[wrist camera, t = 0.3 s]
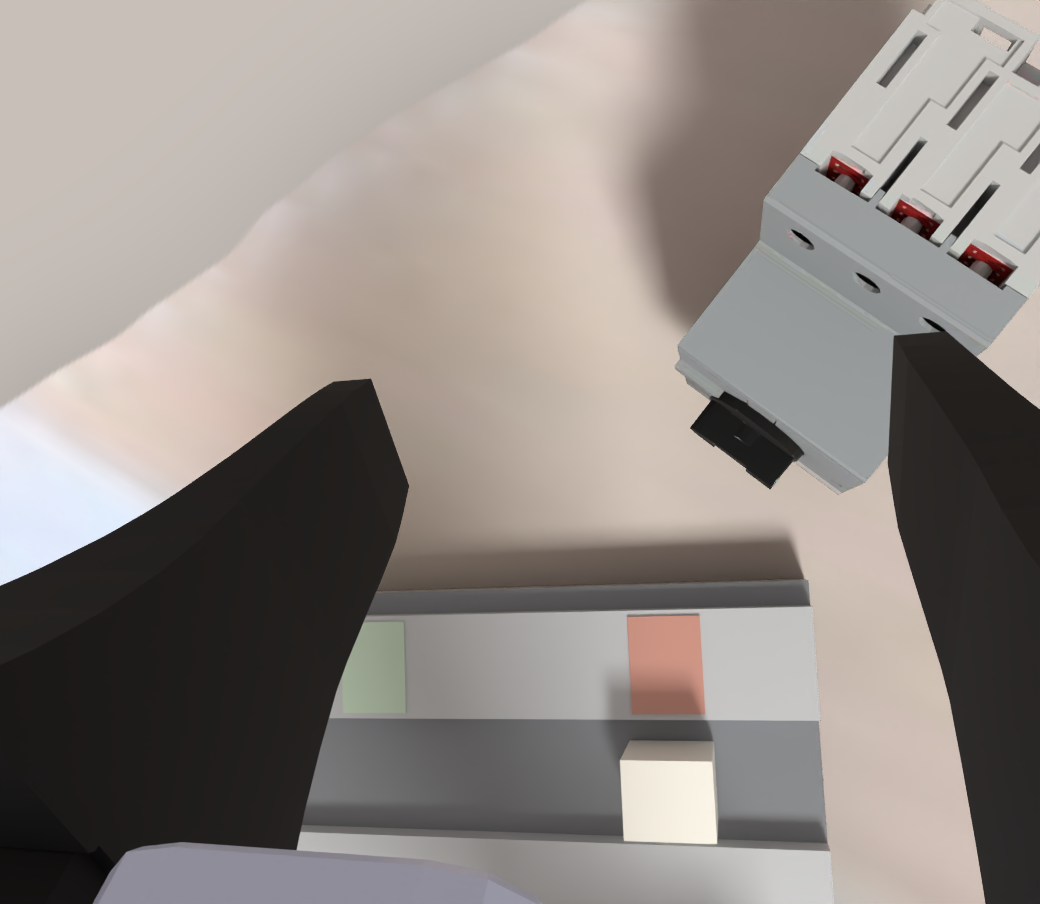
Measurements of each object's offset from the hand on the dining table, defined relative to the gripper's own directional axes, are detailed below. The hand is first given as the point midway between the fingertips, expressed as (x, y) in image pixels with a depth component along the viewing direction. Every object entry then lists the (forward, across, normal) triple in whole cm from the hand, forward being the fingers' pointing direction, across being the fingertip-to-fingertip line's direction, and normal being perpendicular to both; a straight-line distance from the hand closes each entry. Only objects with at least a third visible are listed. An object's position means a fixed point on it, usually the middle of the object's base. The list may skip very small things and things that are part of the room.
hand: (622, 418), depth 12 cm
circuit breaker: (+26, -5, +15) cm, 30 cm away
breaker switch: (+12, +3, +27) cm, 29 cm away
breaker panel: (+13, +9, +28) cm, 32 cm away
